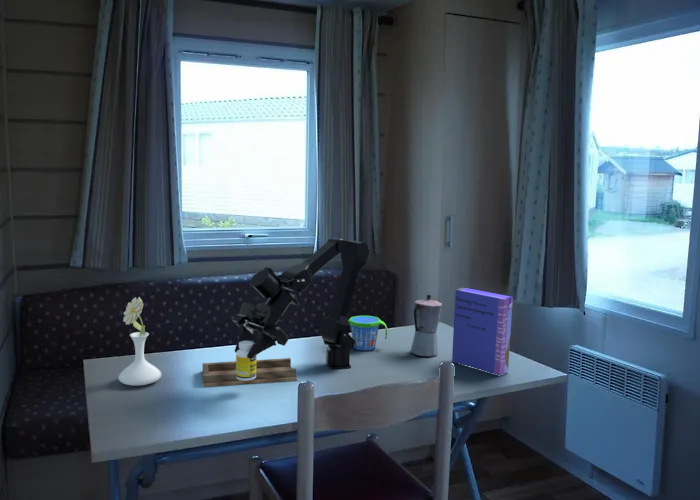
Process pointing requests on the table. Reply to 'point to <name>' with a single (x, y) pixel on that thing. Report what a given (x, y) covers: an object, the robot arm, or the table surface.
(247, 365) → the supplement bottle
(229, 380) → the walnut track
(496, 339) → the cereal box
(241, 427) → the table surface
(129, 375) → the flower in vase
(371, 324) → the snack cup
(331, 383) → the table surface
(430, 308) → the moka pot
